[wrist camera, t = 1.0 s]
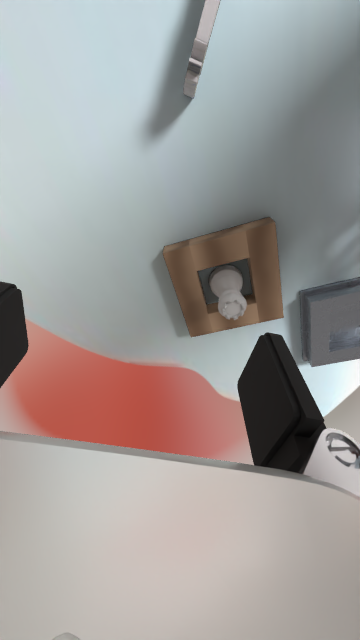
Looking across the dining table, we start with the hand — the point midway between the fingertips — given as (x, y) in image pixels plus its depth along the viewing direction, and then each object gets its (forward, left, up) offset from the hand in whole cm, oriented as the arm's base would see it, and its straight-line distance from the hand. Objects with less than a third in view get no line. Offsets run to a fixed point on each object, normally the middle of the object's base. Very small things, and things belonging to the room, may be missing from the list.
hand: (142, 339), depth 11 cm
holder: (-20, +22, -25) cm, 38 cm away
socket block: (-4, +11, -25) cm, 27 cm away
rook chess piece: (-4, +11, -25) cm, 27 cm away
